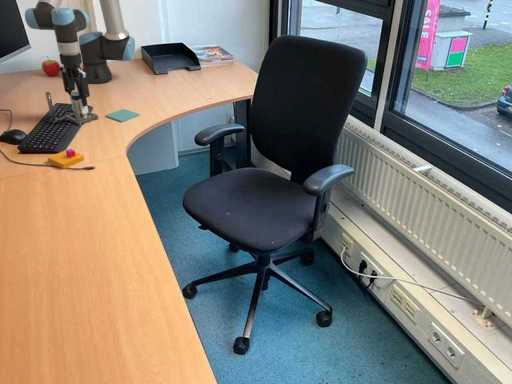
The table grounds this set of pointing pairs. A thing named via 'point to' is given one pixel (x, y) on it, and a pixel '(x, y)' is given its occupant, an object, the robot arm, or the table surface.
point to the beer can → (77, 106)
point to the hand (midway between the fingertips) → (80, 111)
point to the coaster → (122, 115)
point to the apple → (51, 67)
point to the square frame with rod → (51, 109)
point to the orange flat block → (65, 158)
